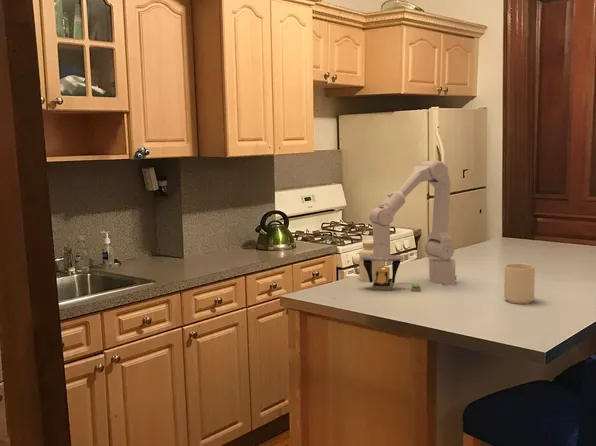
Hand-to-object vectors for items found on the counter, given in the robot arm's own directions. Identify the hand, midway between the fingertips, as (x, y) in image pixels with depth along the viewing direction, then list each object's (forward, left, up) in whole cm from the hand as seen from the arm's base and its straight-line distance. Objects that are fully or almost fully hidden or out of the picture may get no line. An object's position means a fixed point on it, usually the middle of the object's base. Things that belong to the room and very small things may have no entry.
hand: (382, 282), depth 219 cm
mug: (-44, +7, -3) cm, 45 cm away
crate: (0, -3, -3) cm, 4 cm away
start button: (-12, +2, -4) cm, 12 cm away
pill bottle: (+6, -14, -3) cm, 15 cm away
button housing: (-12, +2, -3) cm, 12 cm away
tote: (-8, -4, -3) cm, 9 cm away
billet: (0, 0, -2) cm, 2 cm away
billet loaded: (0, -6, -2) cm, 6 cm away
